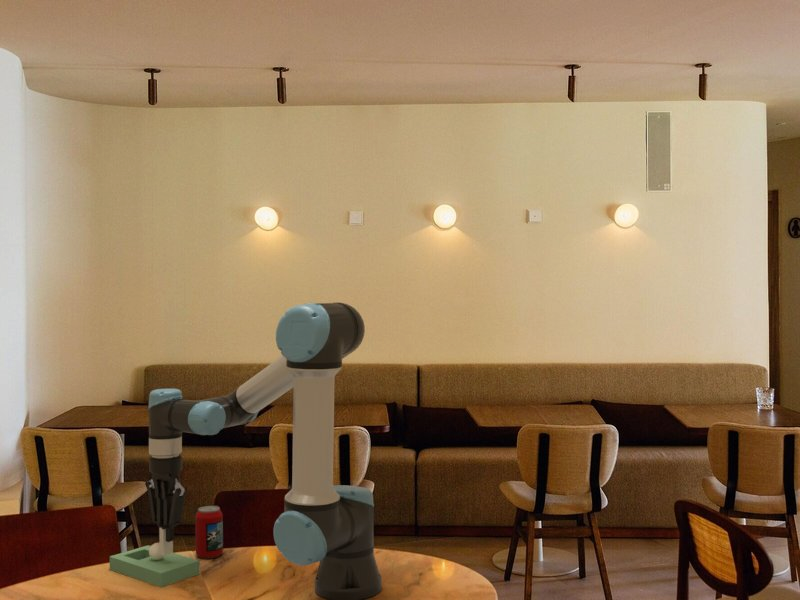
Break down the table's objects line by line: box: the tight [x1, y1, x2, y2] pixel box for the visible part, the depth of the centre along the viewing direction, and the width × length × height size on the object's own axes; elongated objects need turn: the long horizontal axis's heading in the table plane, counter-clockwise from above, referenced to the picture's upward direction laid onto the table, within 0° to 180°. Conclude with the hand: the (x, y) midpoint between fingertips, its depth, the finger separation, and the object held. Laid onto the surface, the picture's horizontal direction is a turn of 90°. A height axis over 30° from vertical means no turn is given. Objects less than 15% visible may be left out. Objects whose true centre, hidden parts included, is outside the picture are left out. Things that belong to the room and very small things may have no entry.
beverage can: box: [194, 505, 224, 560], centre depth 216 cm, size 7×7×12 cm
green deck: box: [109, 545, 201, 588], centre depth 204 cm, size 20×11×3 cm, turn 53°
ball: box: [149, 542, 164, 560], centre depth 203 cm, size 4×4×4 cm
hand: (166, 554), depth 201 cm, fingers closed
